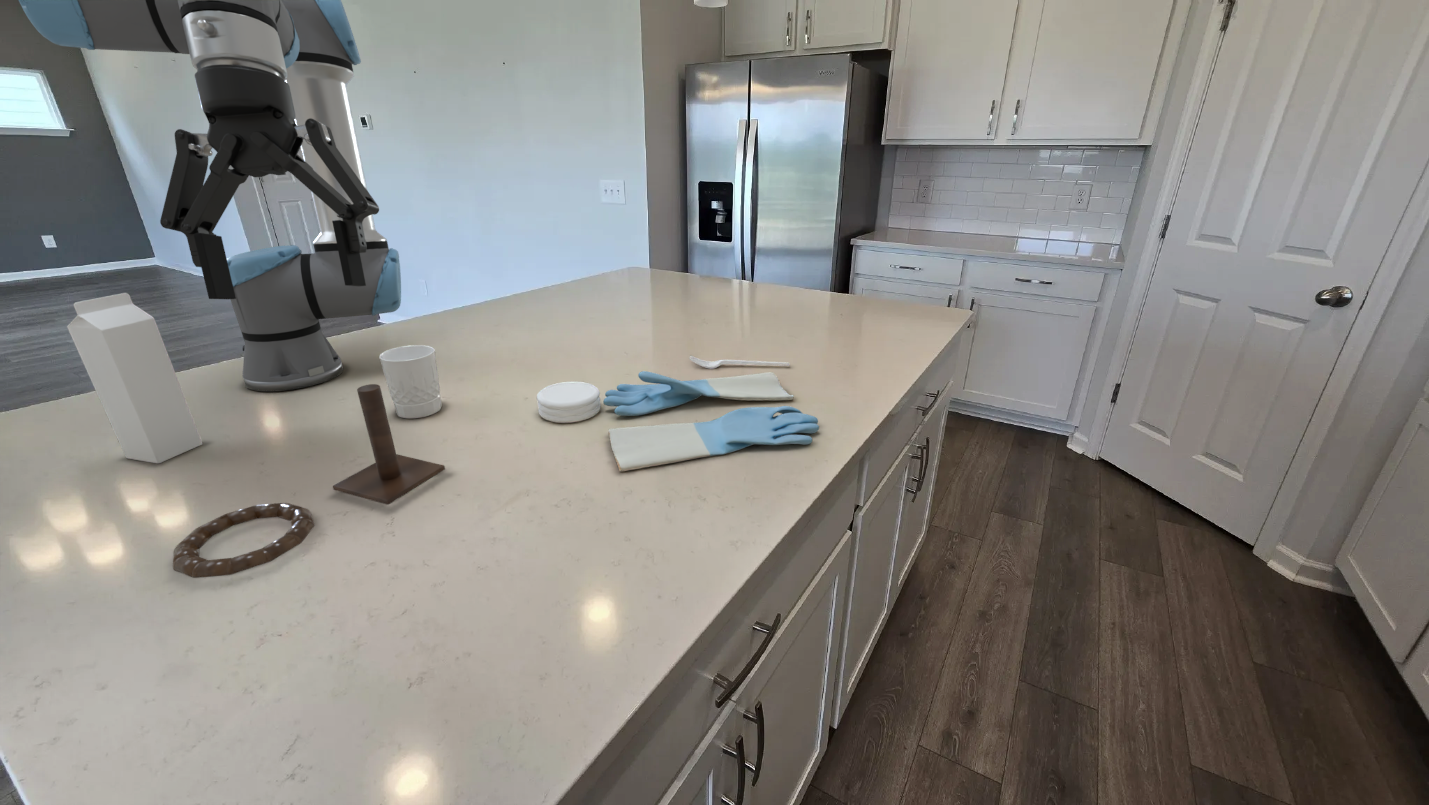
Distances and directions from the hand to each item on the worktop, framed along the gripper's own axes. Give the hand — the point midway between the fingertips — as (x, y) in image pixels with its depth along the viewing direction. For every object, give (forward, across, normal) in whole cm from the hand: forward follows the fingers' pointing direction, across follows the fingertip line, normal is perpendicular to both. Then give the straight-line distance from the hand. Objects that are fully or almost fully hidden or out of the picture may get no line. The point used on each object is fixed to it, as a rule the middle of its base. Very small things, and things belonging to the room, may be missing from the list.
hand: (289, 292), depth 61 cm
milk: (+18, -34, +20) cm, 43 cm away
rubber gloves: (+24, +44, +27) cm, 56 cm away
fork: (+18, +52, +50) cm, 74 cm away
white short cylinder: (+21, +21, +31) cm, 43 cm away
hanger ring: (+25, -8, -2) cm, 27 cm away
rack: (+24, +2, +9) cm, 26 cm away
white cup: (+18, -3, +32) cm, 37 cm away
